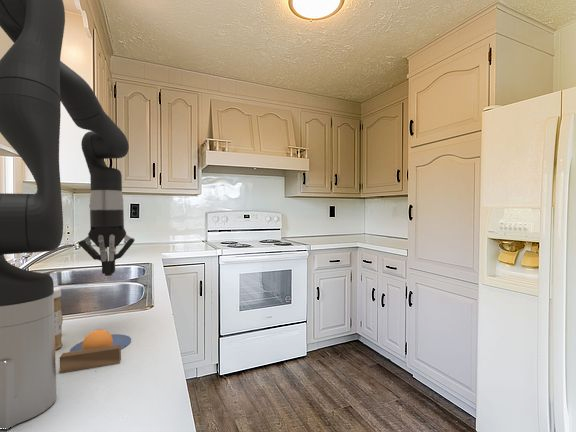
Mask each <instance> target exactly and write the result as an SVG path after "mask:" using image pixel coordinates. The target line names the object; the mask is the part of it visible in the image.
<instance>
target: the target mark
mask: <svg viewBox="0 0 576 432" xmlns="http://www.w3.org/2000/svg"><path fill="white" fill-rule="evenodd" d="M111 336H112V339H113V343H112V346H113V345H120V344H121V350H123V349H125V348H126V347H128V346H129V345H130V344H131V343H132V337H131V336H129V335H126V334H118V333H117V334H111ZM82 343H83V341H81V342H78V343H75V345H73V346H72V347H71V348H70V349H69V352H73V351H79V350H82Z"/></svg>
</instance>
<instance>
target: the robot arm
mask: <svg viewBox="0 0 576 432" xmlns="http://www.w3.org/2000/svg"><path fill="white" fill-rule="evenodd" d="M65 25H66V11H65V5H64V0H0V28H1V29H2V31H3V32H4V33H5V34H6V36H8V37H9V39H10V40H11V42H12V43H13V44H12V45H11V46H10V48H9V49H8V50H7V51H6V53H4V55H3V56H2V57H1V58H0V134H1V136H3V138H4V139H5V140H6V142H8V144H9V145H10V147H12V148H13V150H14V151H15V152H16V153H17V154H18V155H19V157H20V158H21V160H22V161H23V163H24V164H25V166H26V167H27V169H28V170H29V171H30V173H31V175H32V178H33V180H34V181H35V184H36V192H35V193H8V192H7V193H1V192H0V428H2V429H3V428H4V429H5V428H6V429H7V430H9V429H8V428H10V427H11V428H12V427H14V426H16V425H17V424H18V425H19V424H20V423H23V422H25V421H28V420H30V419H33V418H34V417H37V416H38V415H40V414H42V413H43V412H45V411H47V410H48V409H49V408H50V407H51V406H53V405H54V403H55V402H56V400H57V373H56V371H57V370H56V366H57V365H56V350H55V326H54V293H53V292H54V287H55V285H54V279H53V277H52V276H51V275H49V274H46V273H42V272H37V271H31V270H27V269H23V268H20V267H17V266H16V265H14V264H12V263H10V262H9V261H7V260H6V257H5V255H15V254H17V255H18V254H29V253H31V254H32V253H45V252H52V251H55V250H57V249H58V248H59V247H60V246H61V243H62V240H63V234H64V216H63V215H64V213H63V198H62V185H61V174H60V173H61V172H60V138H61V136H60V134H61V132H60V131H61V118H62V117H61V113H62V112H61V110H62V109H61V104H62V106H63V107H64V108H65V110H66V112H67V114H68V115H69V116H70V117H69V118H71V120H72V122H73V123H74V124H75V126H76V127H78V128H79V129H83V130H87V131H88V132H86V133H85V134H84V135H83V137H82V139H81V151H82V153H83V157H84V158H85V162H86V167H87V169H88V172H89V175H90V196H89V205H88V206H89V217H90V218H89V219H90V220H89V221H90V222H89V224H90V229H89V232H88V233H87V236H86V237H85V238H84V239H82V240H80V241H79V242H78V244H79V246H80V247H81V248H82V249H83V250H84V251H85V252H86V253H87V254H88V256H90V257H91V258H92V259H93V260H95V261H100V262H101V273H102V274H103V275H104V276H105V277H110V276H113V274H114V273H115V272H116V260H119V259H121V258H123V256H124V255H125V254H126V252H127V251H128V250H129V249H130V248H131V246H132V245H133V244H134V243H135V241H136V240H135V238H134V237H131V236H130V235H128V234H127V231H126V230H125V218H124V217H125V214H124V197H123V182H122V180H123V178H122V176H123V175H122V172H121V171H120V170H119V169H118V168H115V167H111V166H110V167H109V166H108V165H107V164H106V161H105V160H106V159H122V158H124V157H126V155H128V152H129V148H130V146H129V141H128V139H127V136H126V135H125V134H124V132H123V131H122V130H121V128H120V127H119V126H118V125H117V123H115V121H114V120H112V118H111V117H110V116H109V115H108V114H107V113H106V112H105V111H104V108H103V107H102V105H101V103H100V101H99V99H98V97H97V96H96V93H95V92H94V91H93V89H92V88H91V86H90V85H89V83H88V82H87V81H86V80H85V79H84V77H82V76H81V75H79V74H78V73H77V72H76V71H74V70H73V69H71V67H69V66H68V65H66V64H65V63H64V62H63V61H61V54H62V48H63V39H64V33H65V32H64V31H65ZM123 240H124V241H123ZM122 241H123V244H124V246H123V247H122V248H120V250H119V251H118V253H116V252H117V247H118V246H119V245H120V244H121V242H122ZM92 244H94V245H95V246H96V247H97V248H99V252H98V251H97V250H96V249H95V248H94V247H93V246H92ZM11 428H10V429H11Z"/></svg>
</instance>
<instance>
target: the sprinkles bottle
mask: <svg viewBox="0 0 576 432" xmlns="http://www.w3.org/2000/svg"><path fill="white" fill-rule="evenodd" d="M53 293H54V326H55V351H57V350H59V349H60V348H62V346H63V343H62V332H63V331H62V324H63V323H62V324H61V313H62V307H61V298H62V297H61V296H62V289H61V287H57V286H54V292H53Z"/></svg>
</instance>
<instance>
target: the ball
mask: <svg viewBox="0 0 576 432" xmlns="http://www.w3.org/2000/svg"><path fill="white" fill-rule="evenodd" d="M111 335H112V334H111V333H110V332H109V331H107V330H104V329H96V330H92V331H90V332H89V333H88V334H87V335H86V336H85V337H84V339H83V341H82V342H83V343H82V350H86V349H93V348H100V347H106V346H112V343H113V339H112V336H111Z"/></svg>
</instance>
